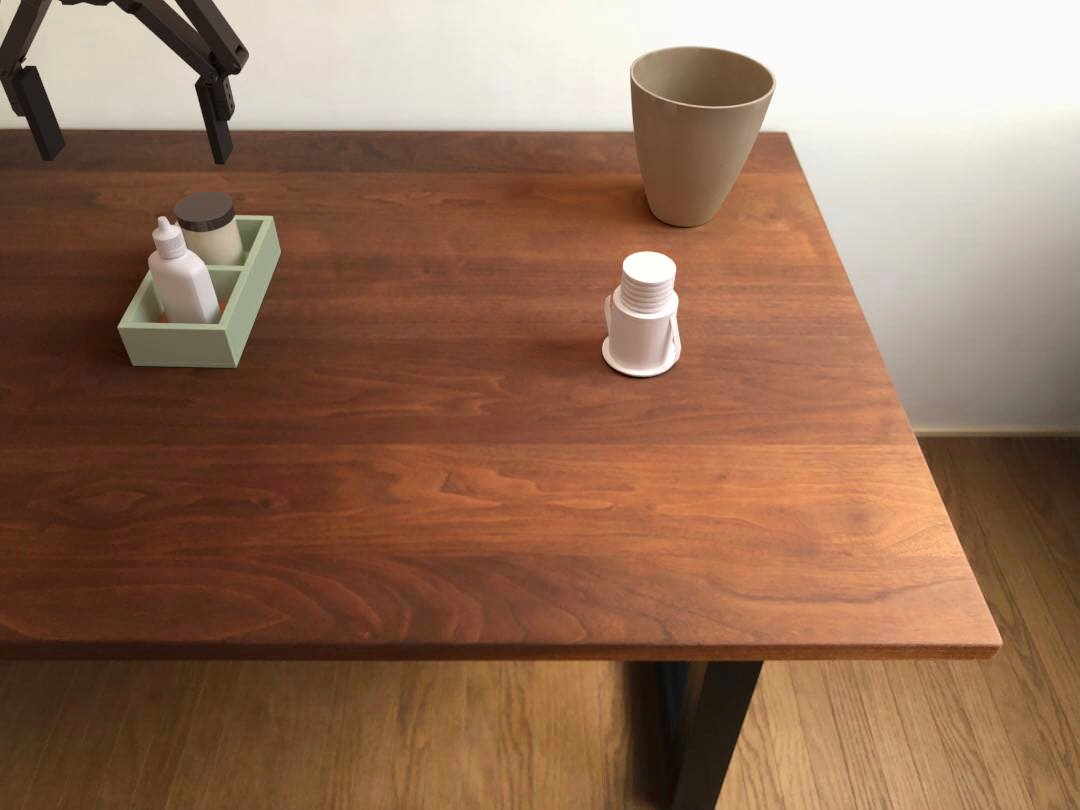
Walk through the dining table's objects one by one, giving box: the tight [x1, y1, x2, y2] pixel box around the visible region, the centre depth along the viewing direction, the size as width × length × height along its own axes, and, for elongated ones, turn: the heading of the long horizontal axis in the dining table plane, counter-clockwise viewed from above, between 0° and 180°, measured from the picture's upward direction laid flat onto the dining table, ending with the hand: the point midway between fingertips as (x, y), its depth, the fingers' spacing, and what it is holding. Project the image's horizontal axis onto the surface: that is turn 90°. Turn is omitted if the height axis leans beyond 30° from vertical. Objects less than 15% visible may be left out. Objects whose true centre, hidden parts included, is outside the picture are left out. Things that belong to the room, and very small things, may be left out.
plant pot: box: [629, 45, 777, 228], centre depth 97 cm, size 15×15×16 cm
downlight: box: [601, 251, 682, 378], centre depth 81 cm, size 8×7×10 cm
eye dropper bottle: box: [147, 215, 222, 324], centre depth 81 cm, size 4×6×12 cm
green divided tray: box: [116, 214, 282, 369], centre depth 87 cm, size 18×10×5 cm, turn 179°
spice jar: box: [173, 191, 246, 266], centre depth 89 cm, size 5×5×8 cm
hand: (139, 154), depth 72 cm, fingers open, 13 cm apart
